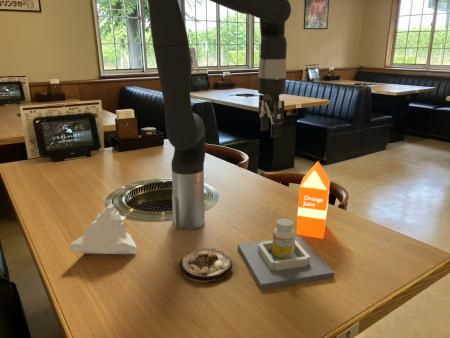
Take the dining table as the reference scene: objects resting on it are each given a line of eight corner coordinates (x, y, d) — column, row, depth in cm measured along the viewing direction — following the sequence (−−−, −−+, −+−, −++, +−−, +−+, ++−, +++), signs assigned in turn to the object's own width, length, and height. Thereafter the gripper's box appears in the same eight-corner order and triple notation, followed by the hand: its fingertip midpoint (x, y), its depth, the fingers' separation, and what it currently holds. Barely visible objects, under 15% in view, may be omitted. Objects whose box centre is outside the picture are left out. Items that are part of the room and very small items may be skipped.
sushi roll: (181, 294, 81) (180, 278, 80) (171, 258, 95) (170, 244, 93) (245, 283, 85) (245, 267, 84) (226, 250, 98) (226, 236, 97)
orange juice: (326, 225, 111) (332, 161, 105) (323, 238, 103) (330, 171, 97) (300, 221, 114) (304, 159, 107) (295, 234, 106) (300, 168, 99)
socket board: (261, 290, 82) (261, 276, 81) (237, 248, 98) (238, 237, 97) (333, 277, 86) (335, 264, 85) (300, 240, 102) (300, 229, 101)
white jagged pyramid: (87, 246, 102) (91, 195, 101) (141, 251, 102) (145, 200, 101) (68, 260, 90) (72, 202, 89) (129, 266, 90) (134, 208, 89)
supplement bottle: (286, 265, 88) (288, 229, 85) (267, 257, 91) (269, 222, 88) (297, 256, 92) (300, 221, 89) (279, 248, 95) (281, 215, 92)
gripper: (251, 74, 107) (249, 129, 112) (268, 78, 94) (265, 140, 99) (275, 74, 109) (272, 128, 114) (295, 78, 95) (291, 139, 101)
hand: (269, 134), depth 106 cm, fingers open, 8 cm apart
